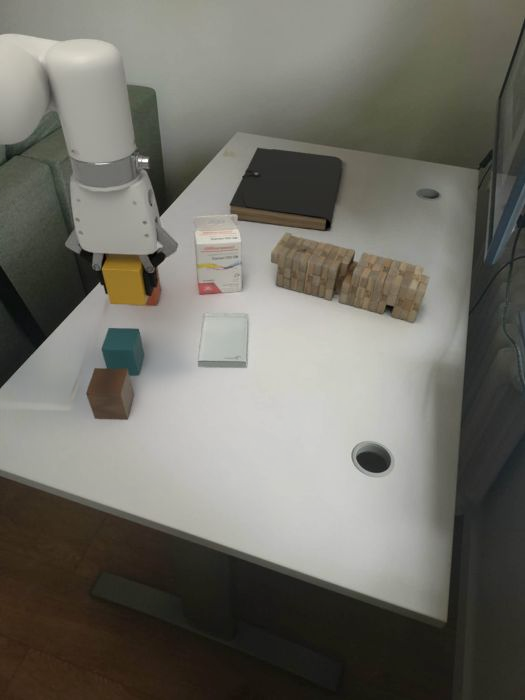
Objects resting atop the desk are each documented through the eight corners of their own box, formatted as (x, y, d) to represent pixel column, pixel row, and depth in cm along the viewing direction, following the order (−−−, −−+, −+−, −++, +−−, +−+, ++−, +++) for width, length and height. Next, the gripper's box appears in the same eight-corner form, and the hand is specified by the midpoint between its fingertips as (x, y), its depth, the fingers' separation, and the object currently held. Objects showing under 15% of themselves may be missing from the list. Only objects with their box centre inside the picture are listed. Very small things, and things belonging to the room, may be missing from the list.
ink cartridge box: (199, 296, 97) (193, 229, 86) (197, 280, 100) (191, 215, 90) (242, 292, 98) (242, 226, 87) (239, 277, 101) (238, 212, 91)
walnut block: (94, 418, 75) (85, 393, 71) (102, 393, 79) (94, 367, 74) (127, 419, 75) (120, 394, 71) (134, 394, 79) (127, 368, 74)
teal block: (108, 374, 81) (101, 349, 77) (115, 353, 85) (108, 327, 81) (138, 375, 81) (133, 350, 77) (144, 354, 85) (139, 328, 81)
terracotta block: (130, 305, 94) (125, 279, 90) (135, 288, 98) (130, 263, 93) (156, 305, 94) (152, 280, 90) (161, 289, 98) (157, 264, 93)
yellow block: (110, 304, 69) (101, 268, 65) (118, 282, 73) (110, 247, 68) (145, 305, 69) (139, 270, 65) (152, 283, 73) (146, 249, 68)
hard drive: (246, 361, 82) (248, 312, 91) (197, 360, 82) (203, 311, 91) (246, 368, 83) (248, 319, 92) (197, 367, 83) (204, 318, 92)
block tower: (419, 303, 98) (282, 263, 105) (432, 268, 92) (286, 228, 99) (412, 327, 93) (268, 284, 99) (425, 292, 87) (271, 248, 93)
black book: (256, 146, 137) (343, 156, 135) (256, 160, 140) (341, 171, 138) (228, 203, 114) (332, 217, 112) (228, 219, 117) (329, 233, 115)
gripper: (183, 154, 60) (194, 276, 73) (44, 148, 60) (79, 271, 73) (173, 183, 55) (186, 308, 68) (20, 176, 55) (62, 303, 68)
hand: (130, 288), depth 70 cm, fingers closed on yellow block, 5 cm apart
